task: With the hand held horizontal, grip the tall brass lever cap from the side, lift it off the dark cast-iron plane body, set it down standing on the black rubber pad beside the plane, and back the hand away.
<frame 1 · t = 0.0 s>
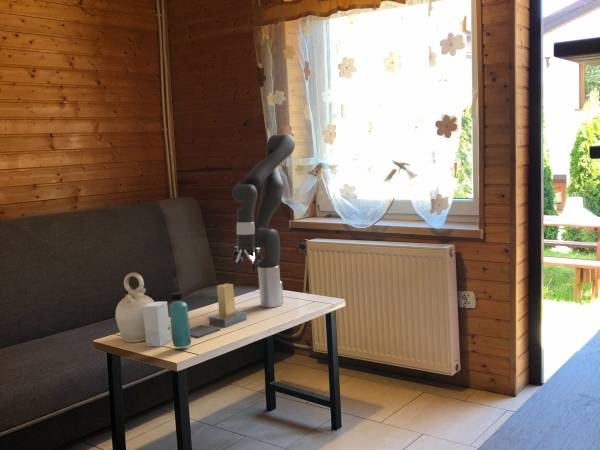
hand: (247, 272, 267), 17 cm above the table, tool pointing down, fingers open, 8 cm apart
skincare box: (158, 344, 234), on the table
brass lever cap: (227, 314, 256), point 3 cm above the table, touching cast-iron plane body
cast-iron plane body: (228, 322, 257), on the table
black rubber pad: (199, 332, 245), on the table
jug: (139, 338, 243), on the table
beverage bottle: (182, 349, 226), on the table
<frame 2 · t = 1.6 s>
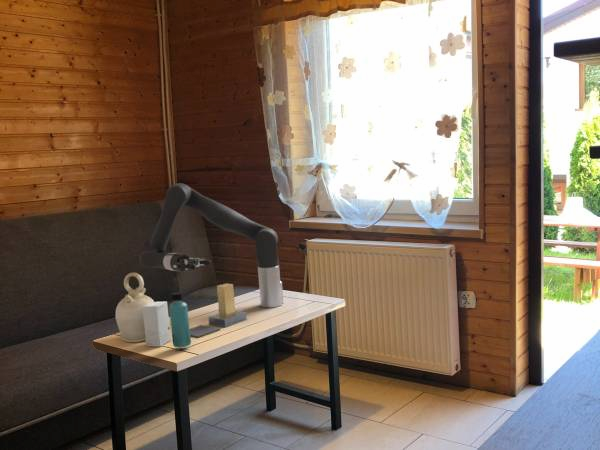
hand: (202, 265, 261), 22 cm above the table, tool horizontal, fingers open, 8 cm apart
nothing on the table moved.
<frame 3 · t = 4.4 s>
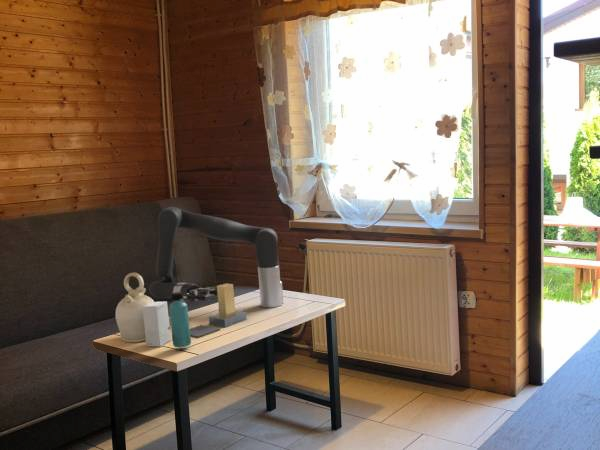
hand: (212, 295, 260), 10 cm above the table, tool horizontal, fingers open, 8 cm apart
nothing on the table moved.
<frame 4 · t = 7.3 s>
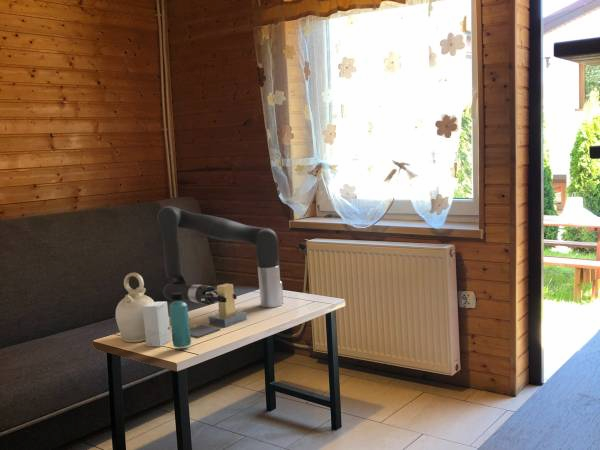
hand: (230, 298, 254), 10 cm above the table, tool horizontal, fingers closed on brass lever cap, 5 cm apart
brass lever cap: (227, 314, 256), point 3 cm above the table, touching cast-iron plane body, gripper
everything else where it was.
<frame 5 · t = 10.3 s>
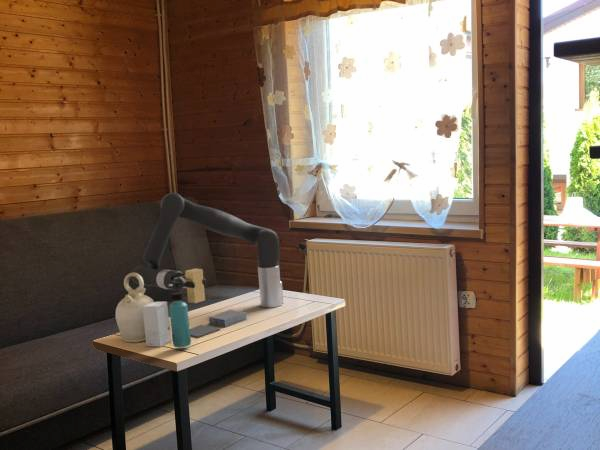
hand: (199, 283, 241), 19 cm above the table, tool horizontal, fingers closed on brass lever cap, 5 cm apart
brass lever cap: (196, 301, 244), point 12 cm above the table, touching gripper
everything else where it was.
when the fingers open (9 cm above the table, at t = 13.3 s): brass lever cap drops 1 cm, resting on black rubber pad.
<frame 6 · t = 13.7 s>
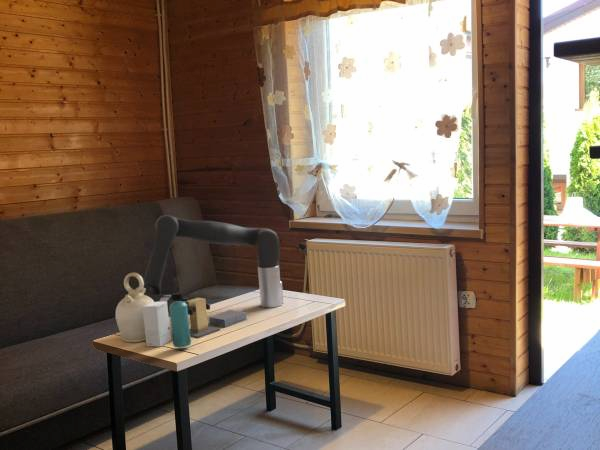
hand: (201, 309, 243), 9 cm above the table, tool horizontal, fingers open, 8 cm apart
brass lever cap: (199, 330, 245), point 1 cm above the table, touching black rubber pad
everything else where it was.
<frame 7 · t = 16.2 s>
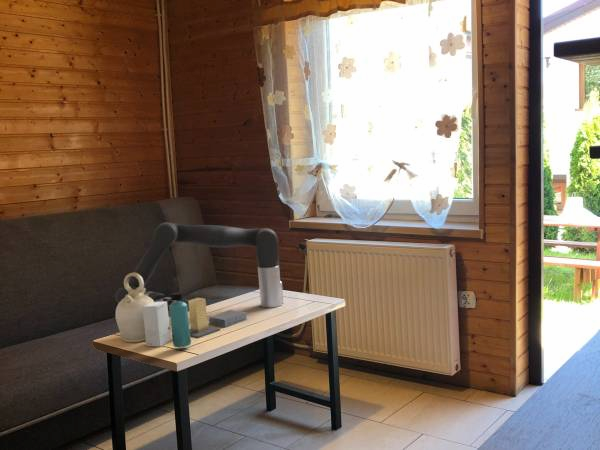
hand: (178, 305, 251), 9 cm above the table, tool horizontal, fingers open, 8 cm apart
nothing on the table moved.
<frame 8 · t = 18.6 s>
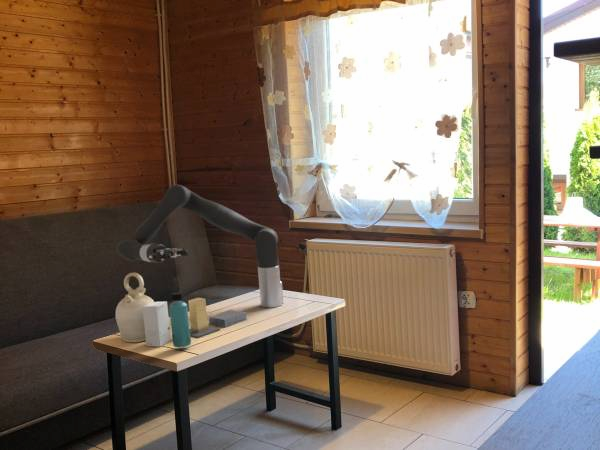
hand: (179, 255, 255), 28 cm above the table, tool horizontal, fingers open, 8 cm apart
nothing on the table moved.
at the end: brass lever cap inside the target area (0.1 cm from its centre), point 0.6 cm above the table; brass lever cap tilted 0°; the gripper is holding nothing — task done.
